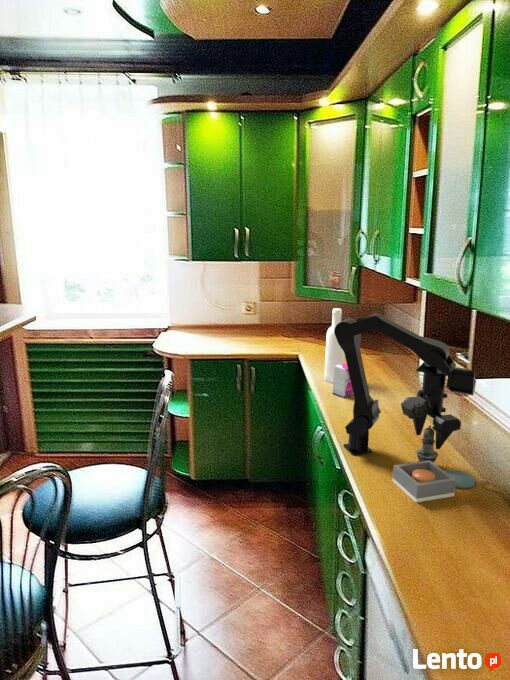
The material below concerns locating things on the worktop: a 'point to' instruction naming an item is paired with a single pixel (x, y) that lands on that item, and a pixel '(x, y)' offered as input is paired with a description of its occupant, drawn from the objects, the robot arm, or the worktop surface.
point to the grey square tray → (426, 490)
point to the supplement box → (342, 381)
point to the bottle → (333, 348)
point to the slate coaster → (462, 479)
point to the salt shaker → (427, 446)
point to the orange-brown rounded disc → (423, 475)
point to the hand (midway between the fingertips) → (427, 441)
